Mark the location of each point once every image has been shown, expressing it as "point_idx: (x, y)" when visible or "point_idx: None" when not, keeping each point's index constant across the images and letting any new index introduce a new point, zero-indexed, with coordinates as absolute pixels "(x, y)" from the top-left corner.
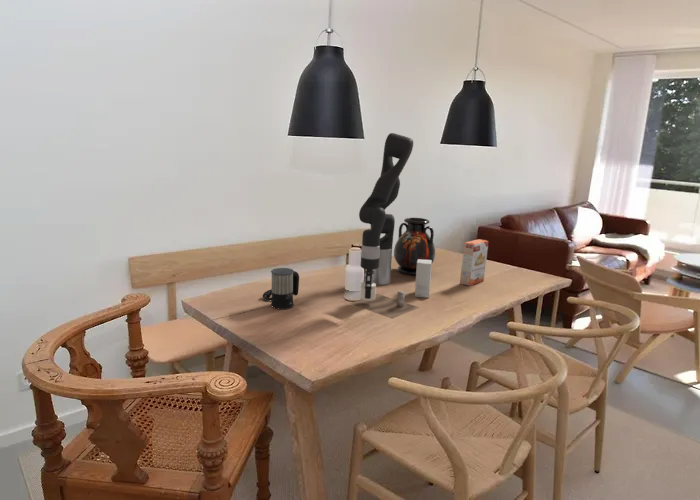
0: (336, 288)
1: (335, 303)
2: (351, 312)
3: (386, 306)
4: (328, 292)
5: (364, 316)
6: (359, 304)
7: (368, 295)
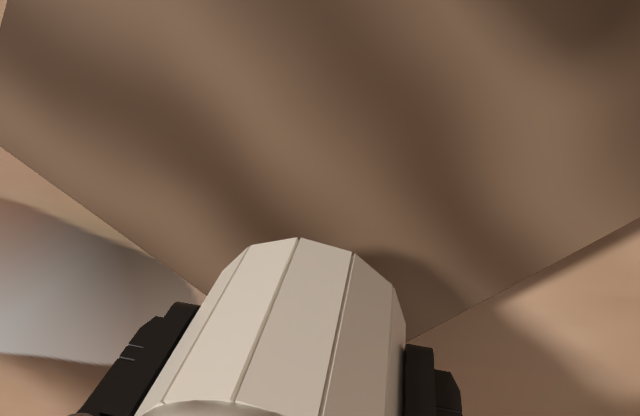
0: (7, 363)
1: None
2: (468, 366)
3: (392, 50)
4: None
5: (593, 295)
6: None
7: (448, 414)
